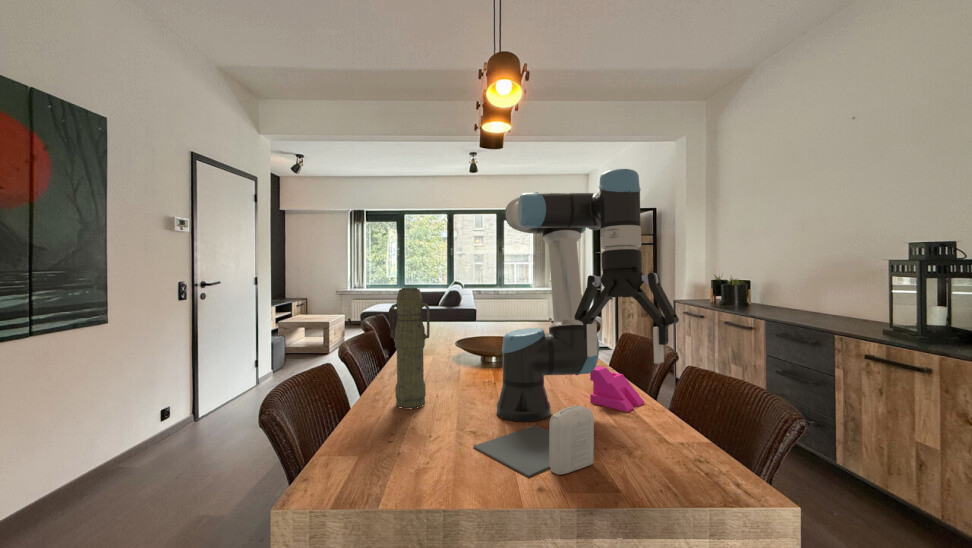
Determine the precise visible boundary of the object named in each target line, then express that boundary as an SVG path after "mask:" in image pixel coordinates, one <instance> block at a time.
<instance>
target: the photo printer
mask: <svg viewBox="0 0 972 548" xmlns="http://www.w3.org/2000/svg"><path fill="white" fill-rule="evenodd" d="M593 413H594V412H593V411H592V410H591V409H590V408H588V407H586V406H582V405H573V406H572V405H571V406H569V407H565V408H563V409H560V410H558V411H557V412H555V413H554V414H552V416H551V417H550V419H549V422H548V423H549V425H548V426H549V428H548V430H549V466H550V468H549V469H550V471H551V473H553V474H556V475H560V476H561V475H565V474H569V473H572V472H575V471H578V470H581V469H583V468H586V467H588V466H591V465H593V464H594V460H595V459H594V458H595V457H594V452H595V448H594V446H595V445H594V443H595V442H594V441H595V440H594V439H595V436H594V435H595V434H594V429H595V427H594V426H595V417H594V414H593Z"/></svg>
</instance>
